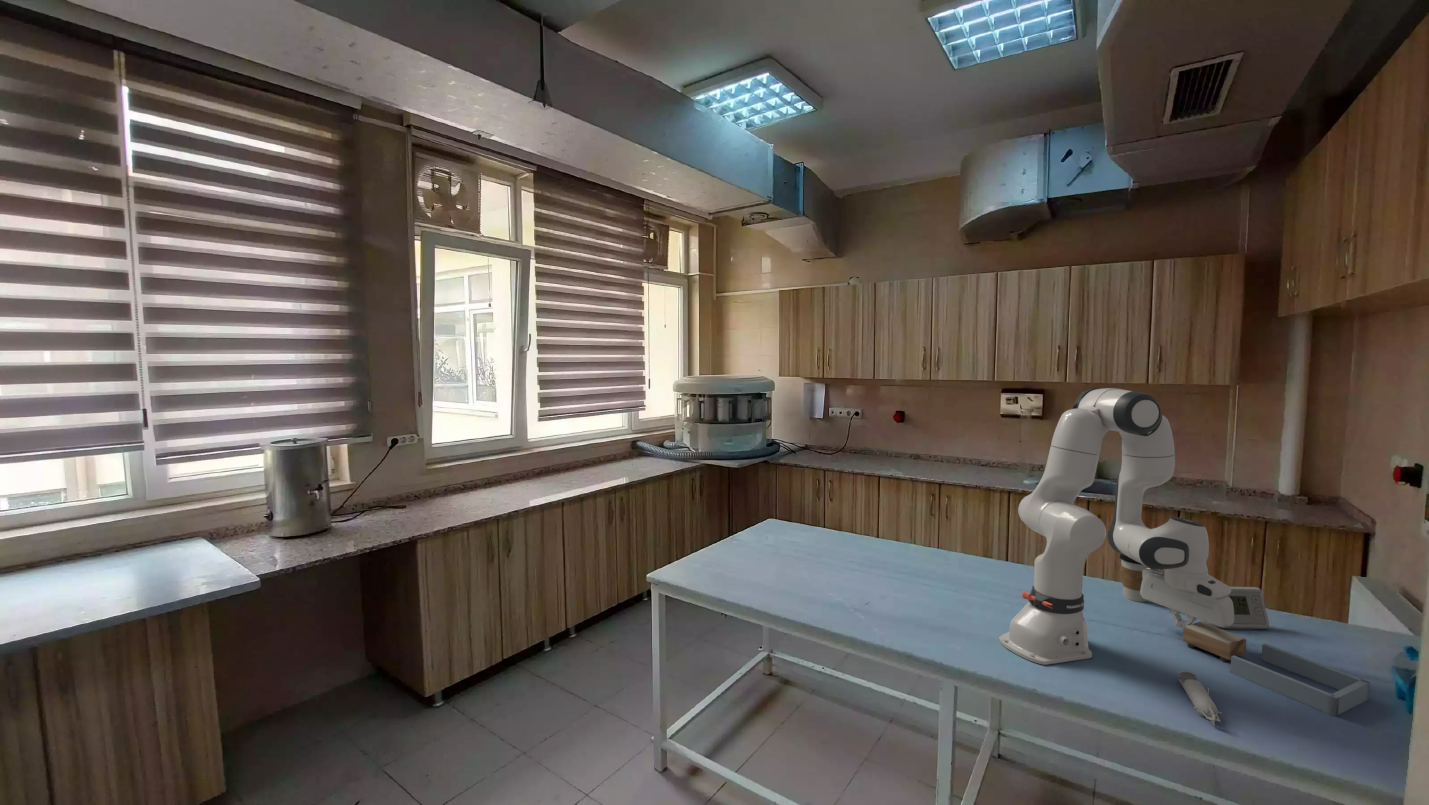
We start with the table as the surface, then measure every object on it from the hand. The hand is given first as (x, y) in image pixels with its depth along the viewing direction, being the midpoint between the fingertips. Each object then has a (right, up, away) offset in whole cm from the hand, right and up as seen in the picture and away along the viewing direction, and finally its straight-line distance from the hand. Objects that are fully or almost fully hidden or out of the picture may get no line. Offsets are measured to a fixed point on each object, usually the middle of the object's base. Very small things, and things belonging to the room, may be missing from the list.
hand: (1183, 627), depth 149 cm
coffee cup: (+6, -1, +25) cm, 26 cm away
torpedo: (-19, -7, -26) cm, 33 cm away
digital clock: (+19, -2, +7) cm, 21 cm away
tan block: (+2, -4, -6) cm, 8 cm away
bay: (+8, -5, -21) cm, 23 cm away
